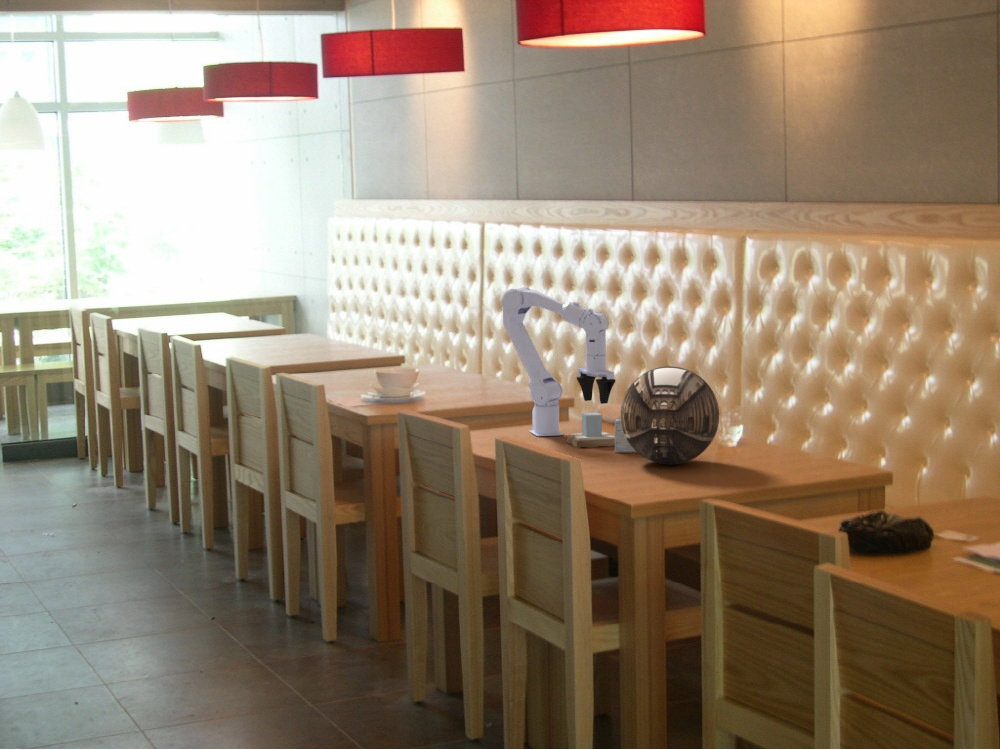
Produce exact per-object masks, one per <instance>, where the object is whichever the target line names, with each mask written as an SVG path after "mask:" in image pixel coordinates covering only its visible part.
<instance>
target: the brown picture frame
mask: <svg viewBox="0 0 1000 750" xmlns="http://www.w3.org/2000/svg"><path fill="white" fill-rule="evenodd" d="M567 443H568V444H570V445H571V444H572V445H571V446H573V447H575V448H577V449H582V448H581V447H589V448H599V447H598V446H608V447H615V435H613V434H612V433H609V432H607V431H602V436H595V437H585V436H584V435H582V432H580V433H571V434H568V435H567Z"/></svg>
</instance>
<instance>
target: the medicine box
mask: <svg viewBox="0 0 1000 750" xmlns="http://www.w3.org/2000/svg"><path fill="white" fill-rule="evenodd" d="M614 436H615V446H614V453H637V452H636V451H635V450H634V449H633V447H632V446H631V445H630V444H629V442H628V441H627V439H626V437H625V435H624V432H623V429H622V425H621V418H615V420H614Z"/></svg>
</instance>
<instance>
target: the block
mask: <svg viewBox="0 0 1000 750" xmlns="http://www.w3.org/2000/svg"><path fill="white" fill-rule="evenodd" d="M602 419H603V417H602V414H601V413H599V412H585V413H584V412H582V413H581V433H582V435H584V436H585V437H595V436H602V432H603V427H602V426H603V425H602V423H603V420H602Z"/></svg>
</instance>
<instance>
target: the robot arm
mask: <svg viewBox="0 0 1000 750" xmlns="http://www.w3.org/2000/svg"><path fill="white" fill-rule="evenodd" d="M500 305H501V307H502V324H503V326H504V328H505V330H506V332H507V335H508V337H509V339H510V340H511V343H512V345H513V346H514V349H515V351H516V353H517V355H518V357H519V358H520V359H519V360H520V361H521V363H522V365H523V367H524V369H525V371H526V373H527V375H528V384H527V386H528V387H529V390H530V398H531V399H532V401H533V404H534V405H533V408H532V412H531V414H532V416H531V417H532V420H531V421H532V429H530V430H529V432H530V433H531V434H533V435H534V436H536V437H553V436H564V433H563V432H561V431H560V405H559V404H560V402H559V399H560V398H561V397H562V394H563V387H562V385H561V383H560V382H559V381H558V380H556V378H555V377H554V375H553V374H552V372H550V371H549V370H547V369H546V367H545V365H544V363H543V360H542V359H541V357H540V354H539V353H538V350H537V348H536V346H535V344H534V343H533V340H532V338H531V336H530V334H529V332H528V330H527V329H526V326H525V324H524V320H525V318H526V315H527V314H528V312H529V310H530V309H531V308H532V307H539V308H542V309H544V310H547V311H550V312H553V313H555V314H558V315H560V316H561V319H562V320H563V321H564V322H567V323H568V324H571V325H573V326H576V327H578V328H581V329H583V331H584V332H585V367H578V368H577V375H578V376H576V380H577V381H576V382H577V383H578V385H579V386H580V388H581V393H582V396H583V399H584V401H585V402H588V401H592V399H593V388H594V383H595V382H596V384H597V387H598V388H597V389H598V393H599V402H600V404H602V405H603V404H604V405H605V404H608V402H609V400H610V399H609V398H610V394H611V391H612V390H613V386H614V385H615V383H616V379H615V372H614V371H610V370H608V369H606V368H607V363H606V362H607V361H606V360H607V355H606V354H607V338H606V330H607V329H608V327H609V324H610V323H609V318H608V316H607V315H606V314H605V313H603V312H602V311H596V312H594V309H593V308H589V309H588V308H586V307H585V306H582V305H580V303H579V302H577V301H573V302H572V301H570V302H568V303H563V302H562V301H559V300H557V299H555V298H553V297H551V296H548V295H546V294H544V293H542V292H540V291H538V290H536V289H531V288H529V287H525V286H524V287H520V288H508V289H507V290H506V291H505V292H504V293H503V295H502V298H501V300H500ZM596 378H597V379H596Z"/></svg>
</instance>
